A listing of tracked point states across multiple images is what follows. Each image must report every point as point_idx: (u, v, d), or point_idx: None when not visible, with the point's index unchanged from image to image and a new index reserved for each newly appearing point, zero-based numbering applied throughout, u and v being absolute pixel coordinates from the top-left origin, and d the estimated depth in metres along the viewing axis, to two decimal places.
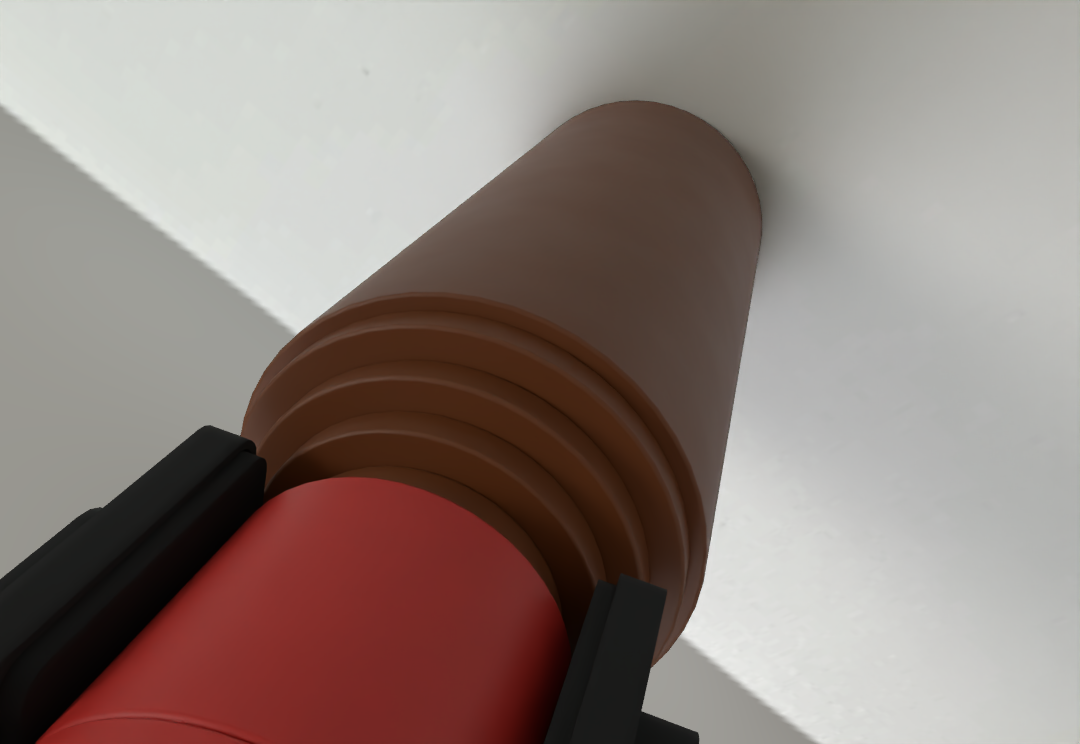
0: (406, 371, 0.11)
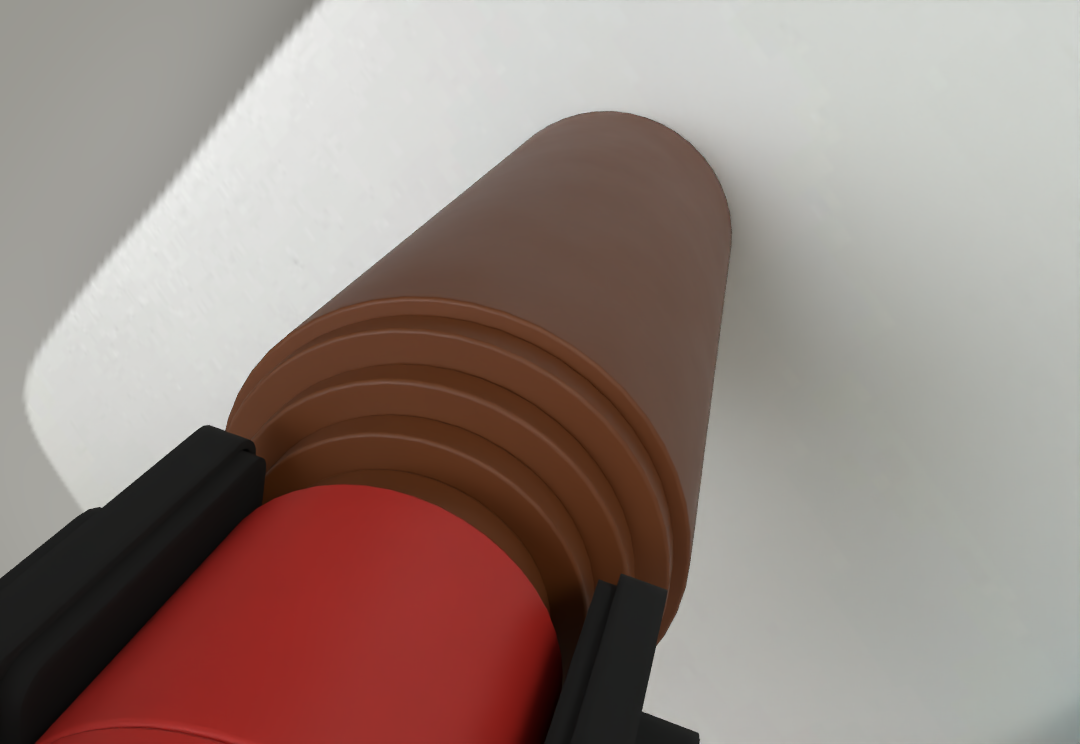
0: None
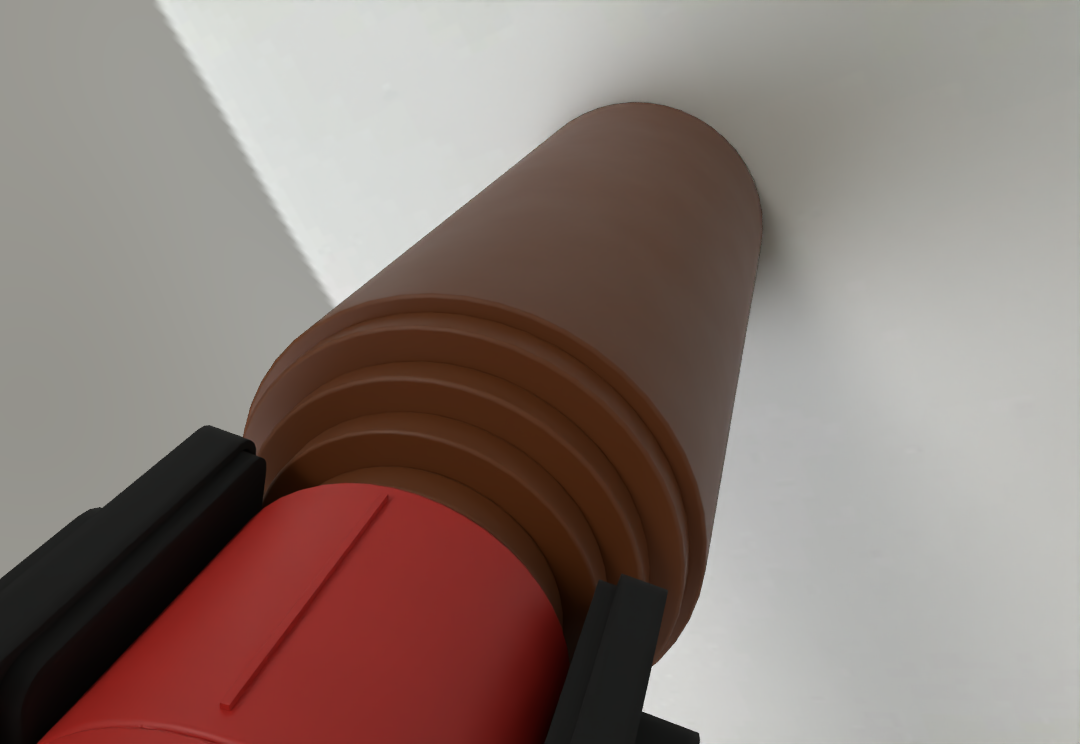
0: (507, 396, 0.11)
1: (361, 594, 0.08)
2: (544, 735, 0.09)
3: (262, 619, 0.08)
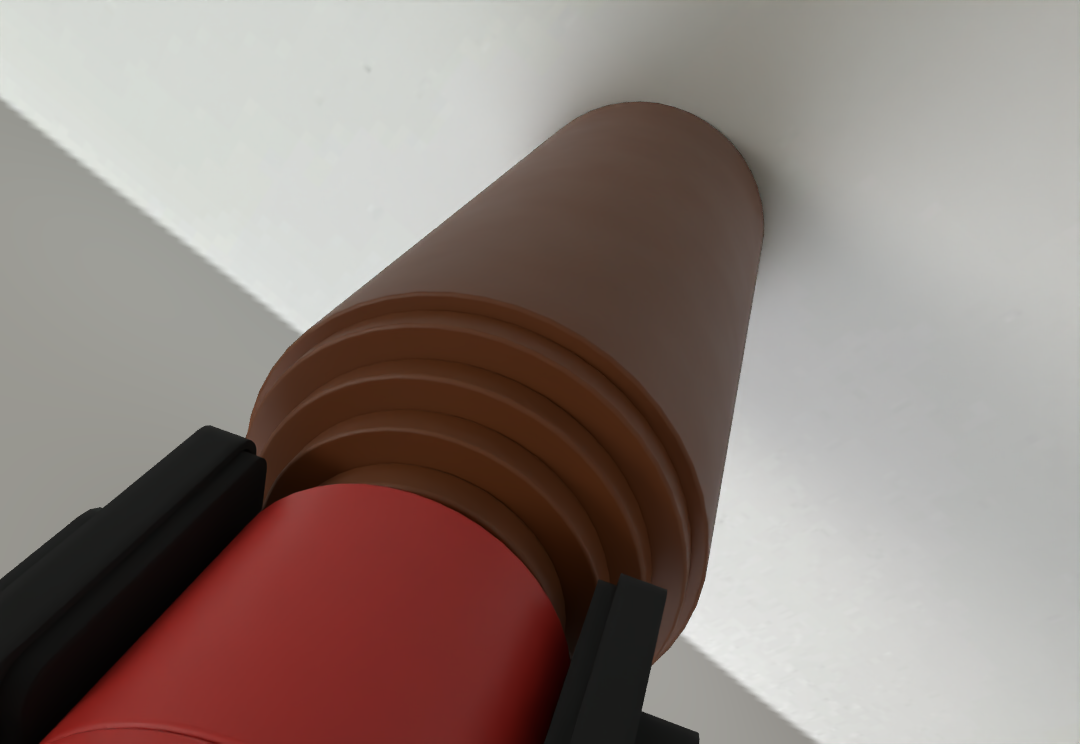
0: (413, 370, 0.11)
1: None
2: (278, 542, 0.09)
3: None
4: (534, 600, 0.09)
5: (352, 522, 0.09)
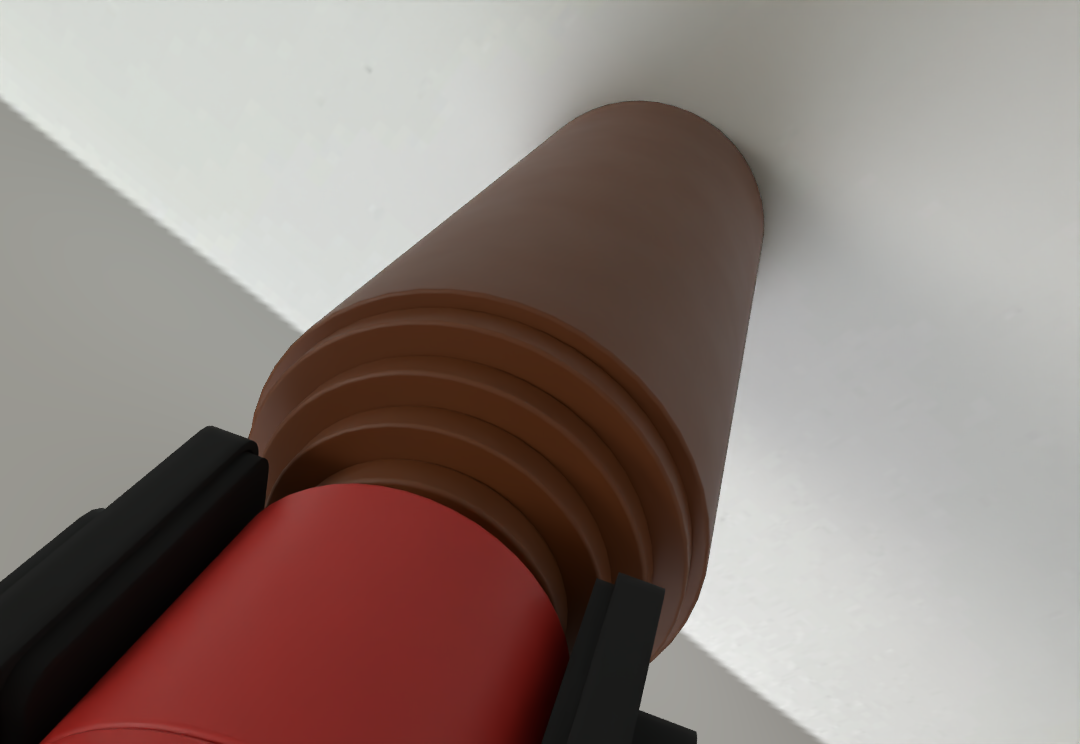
0: (415, 366, 0.11)
1: None
2: None
3: None
4: (248, 523, 0.10)
5: None
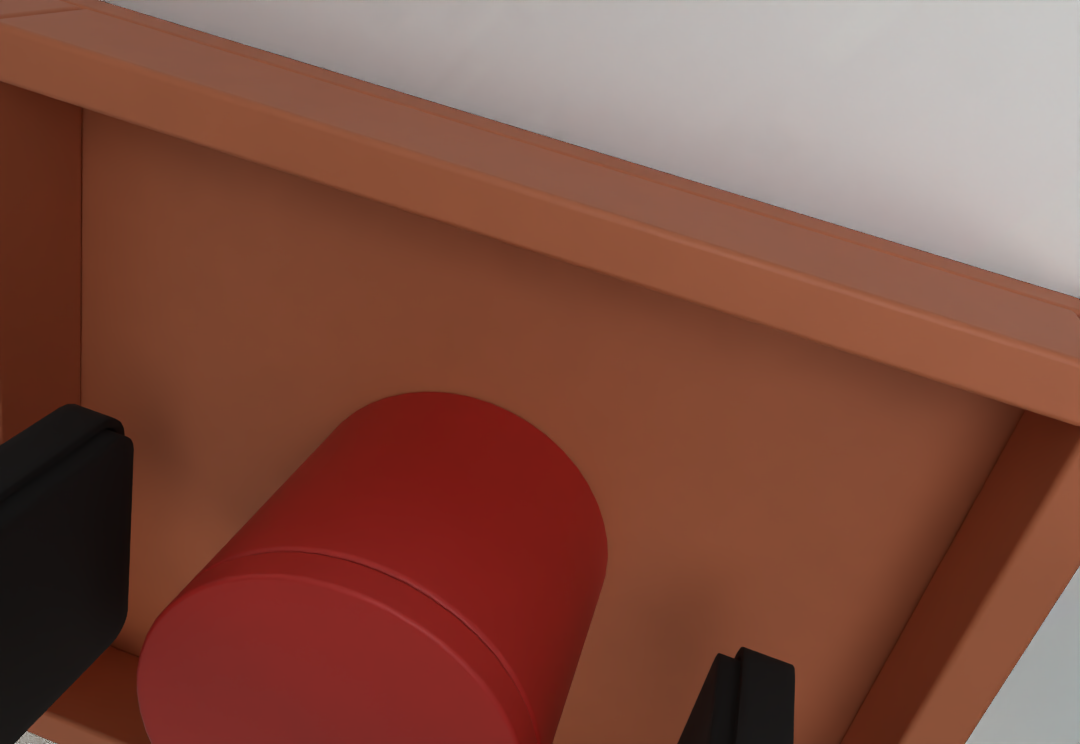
0: None
1: None
2: None
3: None
4: (337, 427, 0.12)
5: None
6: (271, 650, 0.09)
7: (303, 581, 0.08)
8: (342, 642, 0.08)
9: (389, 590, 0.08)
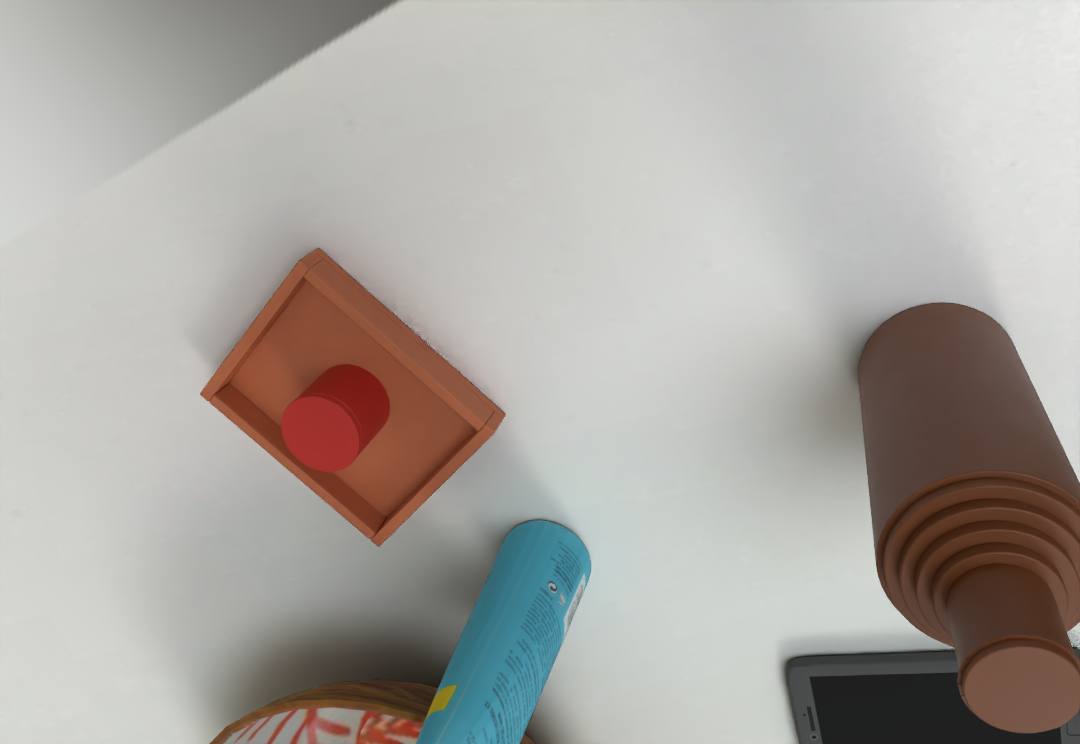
0: (945, 637, 0.29)
1: None
2: None
3: None
4: (337, 366, 0.48)
5: None
6: (320, 412, 0.45)
7: (333, 403, 0.45)
8: (335, 416, 0.45)
9: (347, 411, 0.45)
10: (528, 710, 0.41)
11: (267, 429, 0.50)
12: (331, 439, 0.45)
